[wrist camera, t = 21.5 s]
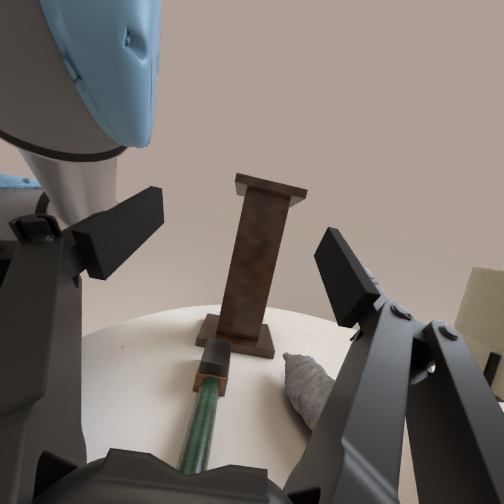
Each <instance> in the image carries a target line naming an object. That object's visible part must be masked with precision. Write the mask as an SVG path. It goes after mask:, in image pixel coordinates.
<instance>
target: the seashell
mask: <svg viewBox="0 0 504 504" xmlns="http://www.w3.org/2000/svg"><path fill="white" fill-rule="evenodd" d="M283 358H284V360H285V361H286V362H285V374H286V376H285V385H286V392H287V395H288V396H289V398H290V400H291V403H292V406H293V407H294V408H295V409H296V411H297V412H298V413H299V414H301V416H302V418H303V419H304V421H305V423H306V424H307V426H308V427H309V428H311V430H312V432H313V431H314V429H315V426H316V424H317V422H318V420H319V417H320V415H321V413H322V410H323V408H324V406H325V403H326V401H327V399H328V397H329V394H330V392H331V390H332V387H333V385H334V383H335V380H334V379H332V378H331V377H329V376H328V375H327V374H326V372H325V370H324V369H323V367H322V366H321V365H319V364H317V363H316V362H315V360H314V359H313V358H311V357H310V356H302V355H290V354H288V353H285V354H283Z"/></svg>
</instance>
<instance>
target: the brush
mask: <svg viewBox="0 0 504 504" xmlns="http://www.w3.org/2000/svg"><path fill="white" fill-rule="evenodd" d="M231 343H232V341H229V340H224V339H218V338H212V337H209V338H208V341H207V344H206V347H205V350H204V353H203V355H202V358H201V361H200V364H199V367H198V370H197V373H196V378H195V383H194V387H193V391H196V392H198V395H197V399H196V402H195V406H194V409H193V413H192V416H191V420H190V423H189V427H188V430H187V434H186V437H185V441H184V444H183V448H182V451H181V455H180V458H179V462H178V465H177V470H179V471H180V472H182V473H184V474H186V475H192V474H196V473H200V472H203V471H207V466H208V459H209V453H210V446H211V440H212V433H213V427H214V421H215V414H216V408H217V401H218V395H220V396H224V394H225V390H226V385H227V381H228V373H229V364H230V355H231Z"/></svg>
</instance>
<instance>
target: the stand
mask: <svg viewBox="0 0 504 504" xmlns="http://www.w3.org/2000/svg"><path fill="white" fill-rule="evenodd" d="M235 185H236V192H237V195H240V196H244V197H245V198H244V203H243V208H242V212H241V217H240V222H239V226H238V231H237V236H236V241H235V245H234V250H233V255H232V259H231V264H230V269H229V274H228V278H227V283H226V288H225V292H224V297H223V302H222V307H221V311H220V316H219V315H214V314H207V316H206V318H205V320H204V323H203V325H202V327H201V329H200V332H199V334H198V336H197V339H196V344H195V345H197V346H203V347H206V344H207V341H208V338H209V337H212V338H218V339H224V340H229V341H232V343H231V352H237V353H243V354H248V355H254V356H260V357H265V358H271V359H273V358H274V354H275V350H274V346H273V342H272V339H271V335H270V331H269V328H268V325H267V324H262V321H263V317H264V313H265V309H266V304H267V300H268V296H269V291H270V287H271V283H272V278H273V273H274V270H275V265H276V261H277V257H278V252H279V248H280V243H281V239H282V235H283V231H284V226H285V222H286V218H287V213H288V209H289V207H292V206H294V205H295V204H297V203H299V202H301V201H302V200H304V199H305V198H306V195H307V190H306V189H302V188H298V187H294V186H289V185H286V184H281V183H277V182H273V181H269V180H265V179H261V178H257V177H252V176H248V175H244V174H240V173H237V174H236V179H235Z"/></svg>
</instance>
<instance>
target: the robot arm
mask: <svg viewBox="0 0 504 504" xmlns="http://www.w3.org/2000/svg"><path fill="white" fill-rule="evenodd" d="M160 40H161V0H0V139H1V140H3V141H5V142H6V143H8V144H10V145H12V146H14V147H16V148H18V150H19V151H20V153H21V154H22V156H23V158H24V159H25V161H26V162H27V164H28V166H29V167H30V169H31V170H32V172H33V174H34V175H35V177H36V179H37V180H34V179H28V178H21V177H17V176H10V175H5V174H0V504H400V502H399V499H398V485H399V474H400V464H401V454H402V444H403V433H404V423H405V417H406V423H407V429H408V436H409V442H410V449H411V455H412V461H413V468H414V474H415V480H416V487H417V493H418V499H419V504H504V412H503V411H502V409H501V407H500V405H499V403H498V401H497V399H496V397H495V395H494V394H493V392H492V390H491V388H490V386H489V384H488V382H487V380H486V378H485V377H484V375H483V373H482V371H481V369H480V367H479V365H478V363H477V361H476V360H475V358H474V356H473V354H472V352H471V350H470V348H469V346H468V344H467V343H466V341H465V339H464V338H463V337H462V335H461V334H460V333H459V332H458V331H457V330H456V329H455V328H453V327H452V326H450V325H448V324H446V323H444V322H442V321H439V320H433V321H432V322H430V323H429V324H428V325H426V324H423V323H421V322H419V321H416V320H414V317H413V316H412V314H411V313H410V312H409V311H408V310H407V309H406V308H405V307H403V306H402V305H400V304H398V303H396V302H393V301H390V299H389V298H388V297H387V295H386V294H385V292H384V291H383V289H382V288H381V286H380V285H379V284H378V282H377V281H376V280H375V278H374V276H373V275H372V273H371V272H370V271H369V270H368V269H366V268H365V267H363V266H362V265H361V264H360V262H359V260H358V259H357V257H356V256H355V255H354V253H353V251H352V250H351V248H350V247H349V245H348V244H347V242H346V241H345V240H344V238H343V236H342V235H341V233H340V232H339V230H338V229H335V228H331V227H328V228H327V230H326V232H325V234H324V236H323V238H322V240H321V242H320V244H319V246H318V248H317V250H316V253H315V254H314V258H315V261H316V263H317V266H318V269H319V272H320V275H321V278H322V281H323V283H324V286H325V289H326V292H327V295H328V298H329V301H330V303H331V306H332V309H333V312H334V314H335V318H336V321H337V323H338V326H342V327H347V328H352V327H353V326H354V325H355V324H356V323H357V322H358V323H359V326H360V329H359V330H358V331H357V332H356V333H355V335H354V336H353V337H352V338H351V339H350V341H352V340H353V342H352V344H351V346H350V349H349V351H348V353H347V355H346V358H345V360H344V362H343V365H342V367H341V369H340V371H339V374H338V376H337V378H336V381H335V383H334V385H333V387H332V390H331V392H330V394H329V397H328V399H327V401H326V403H325V406H324V408H323V410H322V413H321V415H320V417H319V420H318V422H317V424H316V426H315V429H314V431H313V433H312V436H311V438H310V440H309V442H308V445H307V447H306V449H305V452H304V454H303V456H302V458H301V459H300V461H299V463H298V464H297V465H296V467H295V468H294V469H293V471H292V472H291V474H290V476H289V478H288V480H287V482H286V484H285V486H284V488H283V491H282V490H281V489H280V488H279V487H278V486H277V485H276V484H275V483H273V482H272V481H271V480H269V479H268V478H267V469H260V468H253V467H245V466H238V465H231V464H230V465H227V466H223V467H219V468H215V469H211V470H207V471H203V472H200V473H196V474H192V475H186V474H184V473H182V472H180V471H179V470H177V469H175V468H174V467H172V466H170V465H169V464H167V463H165V462H164V461H162V460H160V459H159V458H157V457H155V456H154V455H152V454H150V453H143V452H136V451H129V450H121V449H114V448H110V449H109V451H108V453H107V456H106V457H104V458H100V459H98V460H95V461H92V462H90V463H87V455H86V444H85V439H84V436H83V432H82V427H81V335H82V332H81V330H82V329H81V327H82V326H81V325H82V324H81V323H82V317H81V316H82V279H81V276H80V273H81V272H82V271H84V270H85V269H86V270H87V272H88V275H89V277H90V278H95V279H100V280H106V279H107V278H108V277H109V276H110V275H111V274H112V273H113V272H114V271H115V270H116V269H117V268H118V267H119V266H120V265H122V263H124V261H126V259H128V258H129V257H130V256H131V255H132V254H133V253H134V252H135V251H136V250H137V249H138V248H139V247H140V246H141V245H142V244H143V243H144V242H145V241H146V240H147V239H148V238H149V237H150V236H151V235H152V234H153V233H154V232H155V231H156V230H157V229H158V228H159V227H160V226H161V225H162V224H163V223H164V212H163V196H162V189H161V188H157V187H153V186H150V187H149V188H147V189H145V190H143V191H141V192H140V193H138V194H136V195H134V196H132V197H130V198H129V199H127V200H125V201H123V202H121V203H118V202H117V201H116V200H115V194H116V163H117V157H119V156H120V155H122V154H123V153H124V152H125V151H126V150H127V149H128V148H129V147H137V148H143V147H146V146H148V144H149V143H150V139H151V134H152V128H153V121H154V114H155V103H156V92H157V77H158V70H159V57H160V56H159V55H160ZM433 365H435V371H434V372H432V369H431V367H432V366H433Z"/></svg>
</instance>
